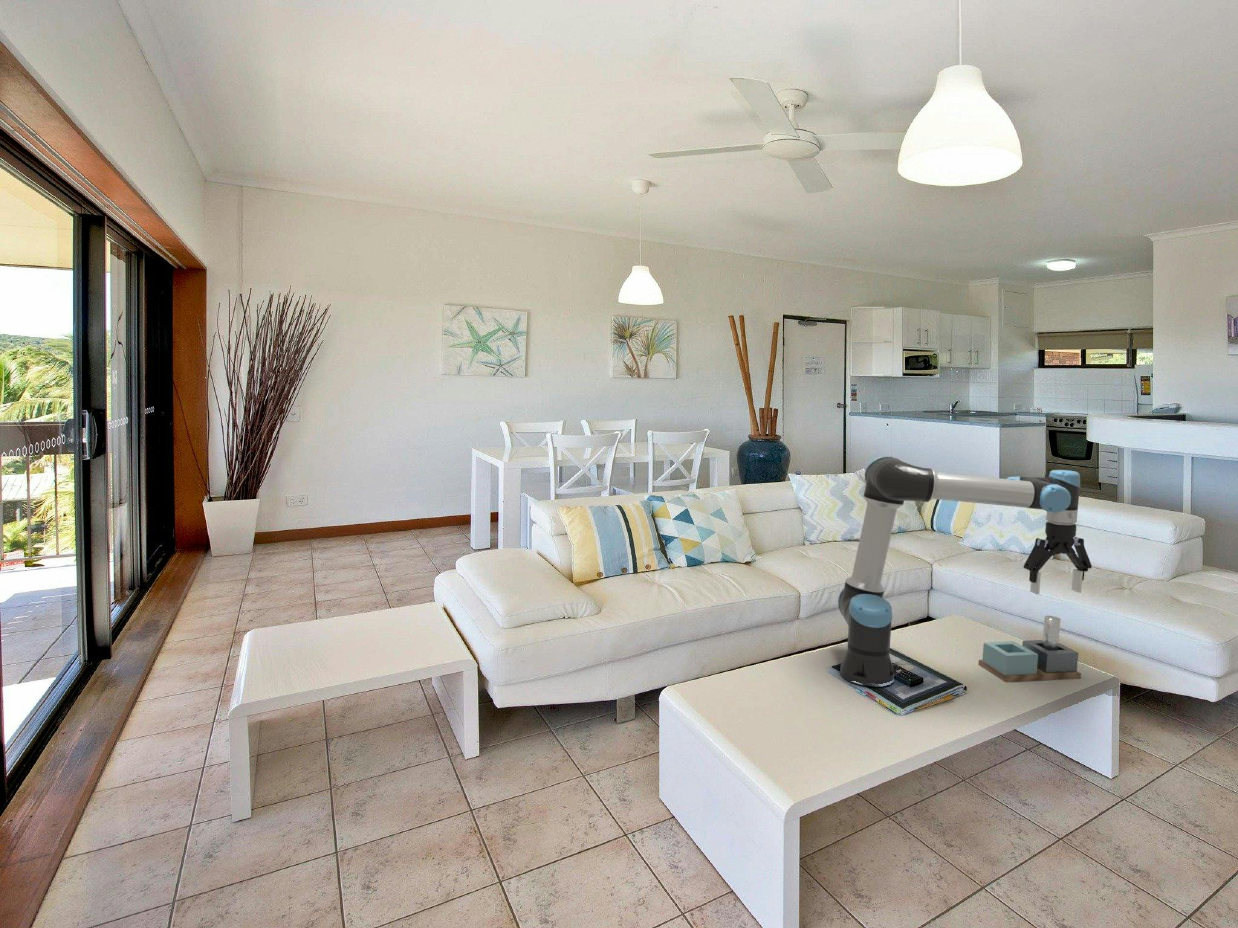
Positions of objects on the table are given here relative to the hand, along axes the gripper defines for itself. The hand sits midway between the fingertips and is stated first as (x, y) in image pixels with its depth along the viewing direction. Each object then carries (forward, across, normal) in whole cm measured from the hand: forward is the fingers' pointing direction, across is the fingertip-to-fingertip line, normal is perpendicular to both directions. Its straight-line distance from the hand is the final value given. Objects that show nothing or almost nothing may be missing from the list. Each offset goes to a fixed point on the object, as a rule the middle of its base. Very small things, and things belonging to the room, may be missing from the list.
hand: (1055, 592), depth 194 cm
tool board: (+24, -7, 0) cm, 25 cm away
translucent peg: (+22, 0, 0) cm, 22 cm away
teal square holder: (+23, -13, 0) cm, 27 cm away
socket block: (+23, 0, 0) cm, 23 cm away
